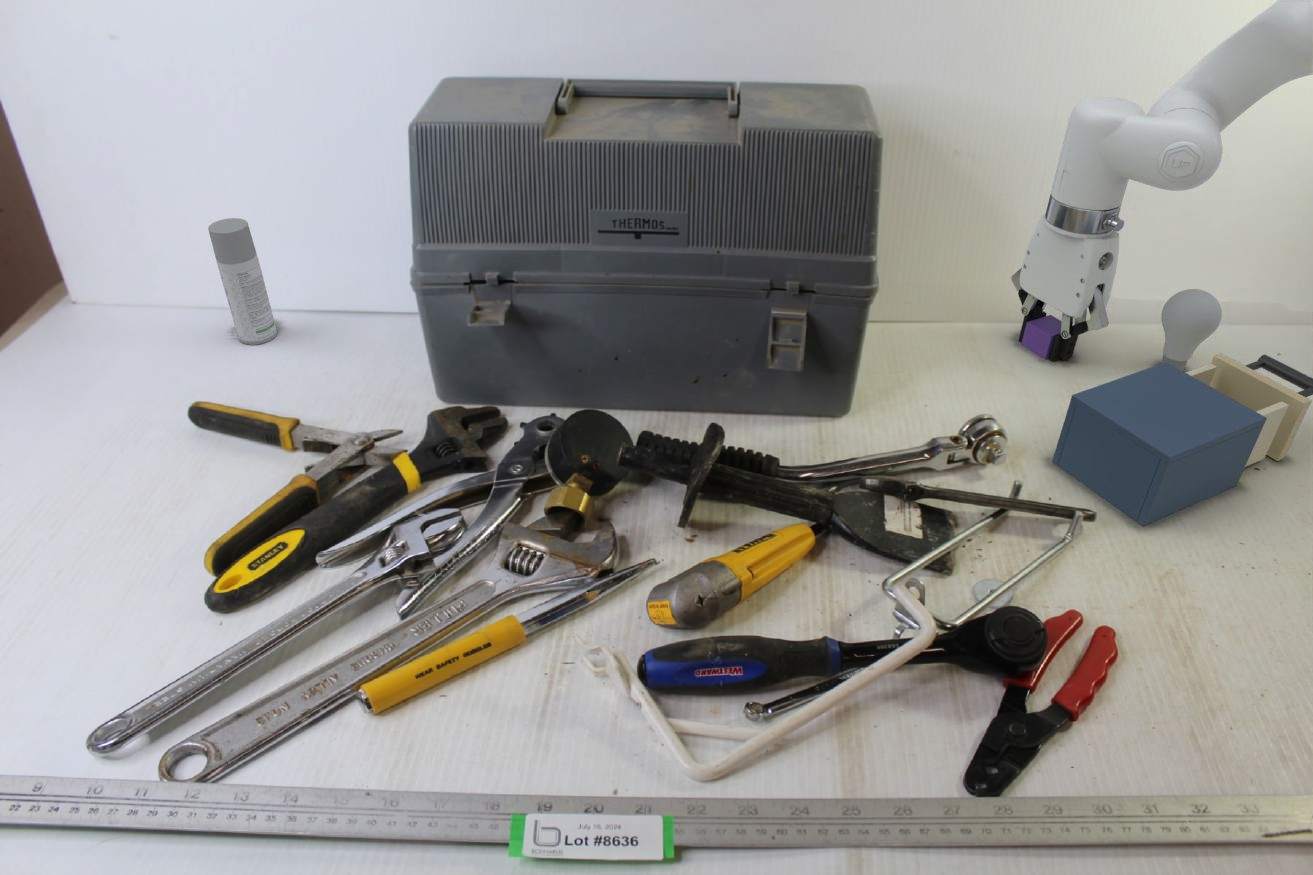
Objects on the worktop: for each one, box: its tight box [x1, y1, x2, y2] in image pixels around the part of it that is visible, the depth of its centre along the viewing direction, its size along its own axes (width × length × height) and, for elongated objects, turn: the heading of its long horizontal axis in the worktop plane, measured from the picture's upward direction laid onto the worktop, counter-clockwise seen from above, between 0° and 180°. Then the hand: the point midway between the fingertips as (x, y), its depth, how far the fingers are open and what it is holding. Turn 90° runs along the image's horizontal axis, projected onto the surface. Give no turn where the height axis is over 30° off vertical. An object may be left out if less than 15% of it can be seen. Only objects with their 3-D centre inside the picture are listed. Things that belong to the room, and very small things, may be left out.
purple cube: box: [1020, 314, 1062, 361], centre depth 119 cm, size 4×4×4 cm
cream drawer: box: [1185, 353, 1313, 468], centre depth 102 cm, size 18×10×7 cm, turn 118°
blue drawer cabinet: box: [1051, 362, 1267, 528], centre depth 97 cm, size 14×12×9 cm
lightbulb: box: [1160, 288, 1223, 372], centre depth 113 cm, size 6×6×11 cm
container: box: [207, 217, 278, 346], centre depth 119 cm, size 5×5×15 cm
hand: (1043, 351), depth 120 cm, fingers open, 4 cm apart
